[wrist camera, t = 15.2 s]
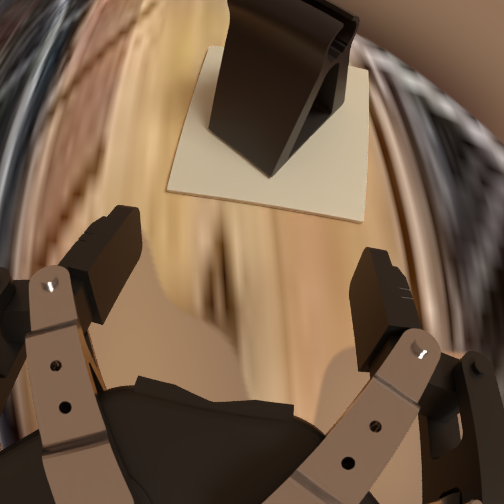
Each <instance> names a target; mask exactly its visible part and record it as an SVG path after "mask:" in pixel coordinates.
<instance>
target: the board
mask: <svg viewBox="0 0 504 504" xmlns="http://www.w3.org/2000/svg"><path fill="white" fill-rule="evenodd" d="M223 51H224V46H209V49H208V52H207V55H206V58H205V60H204V63H203V66H202V69H201V72H200V75H199V78H198V81H197V84H196V87H195V90H194V93H193V97H192V100H191V103H190V106H189V110H188V113H187V116H186V120H185V123H184V126H183V130H182V133H181V137H180V140H179V144H178V148H177V151H176V155H175V159H174V163H173V166H172V170H171V174H170V178H169V182H168V186H167V191H168V192H169V193H177V194H184V195H192V196H199V197H206V198H213V199H220V200H226V201H233V202H240V203H246V204H252V205H259V206H265V207H271V208H277V209H283V210H289V211H295V212H300V213H306V214H312V215H317V216H323V217H328V218H333V219H339V220H344V221H349V222H354V223H360V224H361V223H363V222H364V212H365V199H366V184H367V165H368V136H369V81H368V70H364V69H360V68H356V67H352V66H348V74H347V83H346V92H345V101H344V103H343V104H342V106H341V107H340V108H339V109H338V110H337V111H336V112H335V113H334V114H333V115H332V116H331V117H330V118H329V119H328V120H327V121H326V122H325V123H324V124H323V125H322V126H321V127H320V128H319V129H318V130H317V131H316V132H315V133H314V134H313V135H312V136H311V137H310V138H309V139H308V140H307V141H306V142H305V143H304V144H303V146H302V147H301V148H300V149H299V150H298V151H297V152H296V153H295V154H294V155H293V156H292V157H291V158H290V159H289V160H288V161H287V162H286V163H285V164H284V165H283V166H282V167H281V168H280V170H279V171H278V172H277V173H276V174H275V175H274V176H273V177H270V176H268V175H267V174H266V173H265V172H263V171H262V170H261V169H260V168H258V167H257V166H256V165H255V164H253V163H252V162H251V161H250V160H248V159H247V158H246V157H244V156H243V155H242V154H241V153H239V152H238V151H237V150H236V149H234V148H233V147H232V146H230V145H229V144H228V143H226V142H225V141H224V140H223V139H221V138H220V137H219V136H217V135H216V134H215V133H213V132H212V131H211V130H209V129H208V127H209V122H210V116H211V111H212V105H213V100H214V95H215V90H216V85H217V80H218V75H219V70H220V65H221V61H222V56H223Z"/></svg>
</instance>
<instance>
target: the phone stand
mask: <svg viewBox="0 0 504 504" xmlns="http://www.w3.org/2000/svg"><path fill="white" fill-rule="evenodd" d="M227 3H228V7H229V11H230V24H229V29H228V33H227V38H226V42H225V47H224V51H223V56H222V61H221V65H220V70H219V75H218V80H217V85H216V90H215V95H214V100H213V105H212V111H211V116H210V122H209V127H208V129H209V130H211V131H212V132H213V133H215V134H216V135H217V136H219V137H220V138H221V139H223V140H224V141H225V142H226V143H228V144H229V145H230V146H232V147H233V148H234V149H236V150H237V151H238V152H239V153H241V154H242V155H243V156H244V157H246V158H247V159H248V160H250V161H251V162H252V163H253V164H255V165H256V166H257V167H258V168H260V169H261V170H262V171H263V172H265V173H266V174H267V175H268V176H270V177H273V176H274V175H275V174H276V173H277V172H278V171H279V170H280V168H281V167H282V166H283V165H284V164H285V163H286V162H287V161H288V160H289V159H290V158H291V157H292V156H293V155H294V154H295V153H296V152H297V151H298V150H299V149H300V148H301V147H302V146H303V144H304V143H305V142H306V141H307V140H308V139H309V138H310V137H311V136H312V135H313V134H314V133H315V132H316V131H317V130H318V129H319V128H320V127H321V126H322V125H323V124H324V123H325V122H326V121H327V120H328V119H329V118H330V117H331V116H332V115H333V114H334V113H335V112H336V111H337V110H338V109H339V108H340V107H341V106H342V104H343V103H344V101H345V92H346V83H347V74H348V64H349V54H350V48H351V44H352V41H353V39H354V36H355V34H356V32H357V29H358V27H359V21H360V20H359V17H357V16H356V15H354V14H353V13H351V12H349V11H347V10H346V9H344V8H342V7H340V6H339V5H337V4H335V3H333V2H331V1H329V0H227Z"/></svg>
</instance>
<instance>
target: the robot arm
mask: <svg viewBox="0 0 504 504" xmlns="http://www.w3.org/2000/svg"><path fill="white" fill-rule="evenodd" d="M141 251H142V234H141V222H140V211H139V209H138V208H137V207H131V206H124V205H117V206H116V207H115V208H114V209H113V210H112V212H111V213H110V214H109V215H108V216H107V217H105V216H103V217H101V218H100V219H98V220H96V221H95V222H93V223H92V224H91V225H90V226H89V227H88V228H87V230H86V231H85V232H84V234H82V235H81V237H80V238H79V240H78V241H77V242H76V243H75V244H74V245H73V246H72V248H71V249H70V250H69V251H68V253H67V254H66V255H65V256H64V258H63V259H62V260H61V262H60V263H59V264H58V265H53V266H47V267H44V268H42V269H40V270H39V271H37V272H36V273H35V274H34V275H33V276H32V278H31V279H30V280H12V277H11V275H10V273H9V271H8V270H7V269H6V268H3V267H0V416H1V413H2V411H3V409H4V406H5V404H6V401H7V399H8V397H9V394H10V392H11V390H12V388H13V385H14V383H15V381H16V379H17V377H18V374H19V372H20V370H21V368H22V366H23V364H24V362H25V360H26V358H27V362H28V370H29V377H30V384H31V390H32V396H33V402H34V407H35V412H36V417H37V422H38V427H39V429H38V430H36V431H34V432H33V433H31V434H29V435H28V436H26V437H24V438H22V439H21V440H19V441H17V442H16V443H14V444H12V445H10V446H9V447H7V448H5V449H3V450H1V444H0V450H1V451H0V504H379V503H378V501H377V500H376V499H375V498H374V497H373V495H372V494H371V493H370V492H369V490H370V488H371V487H372V485H373V484H374V482H375V481H376V480H377V478H378V477H379V476H380V474H381V473H382V471H383V470H384V468H385V467H386V465H387V464H388V462H389V461H390V459H391V457H392V456H393V455H394V453H395V452H396V450H397V448H398V447H399V445H400V443H401V442H402V440H403V439H404V437H405V435H406V433H407V432H408V430H409V428H410V427H411V425H412V423H413V421H414V420H415V418H416V416H417V414H418V419H419V430H420V442H421V460H422V498H423V499H422V500H423V501H422V504H504V408H503V404H502V400H501V396H500V392H499V388H498V384H497V381H496V377H495V373H494V370H493V367H492V365H491V363H490V362H489V360H488V359H487V358H486V357H485V356H484V355H482V354H481V353H479V352H475V351H469V352H467V353H466V354H465V355H464V356H463V357H462V358H461V359H460V360H459V359H457V358H454V357H452V356H449V355H447V354H444V353H442V352H441V350H440V347H439V344H438V343H437V341H436V340H435V338H434V337H433V336H432V335H430V334H429V333H428V332H426V331H424V330H422V327H421V323H420V320H419V317H418V313H417V310H416V307H415V304H414V301H413V300H412V295H411V292H410V291H409V286H408V283H407V280H406V277H405V276H404V275H403V273H402V272H401V271H400V270H399V268H398V267H395V266H392V264H391V261H390V258H389V255H388V252H387V251H386V250H380V249H375V248H370V247H366V248H365V249H364V251H363V253H362V255H361V258H360V260H359V263H358V265H357V268H356V270H355V272H354V275H353V277H352V280H351V283H350V288H349V300H350V307H351V314H352V321H353V329H354V337H355V346H356V355H357V364H358V371H359V372H370V380H369V381H368V382H367V384H366V385H365V386H364V388H363V389H362V390H361V392H360V393H359V394H358V396H357V397H356V398H355V399H354V401H353V402H352V403H351V404H350V406H349V407H348V408H347V409H346V411H345V412H344V413H343V414H342V415H341V417H340V418H339V419H338V420H337V421H336V423H335V424H334V425H333V426H332V427H331V428H330V430H329V431H328V432H327V433H326V434H323V432H321V431H320V430H319V429H318V428H316V427H315V426H314V425H312V424H311V423H309V422H307V421H305V420H303V419H301V418H299V417H297V416H294V415H293V413H294V405H291V404H282V403H274V402H267V401H259V400H247V401H232V402H211V401H208V400H206V399H204V398H202V397H199V396H197V395H195V394H193V393H191V392H189V391H187V390H185V389H182V388H180V387H178V386H176V385H174V384H170V383H165V382H161V381H157V380H153V379H149V378H146V377H142V376H138V378H137V380H136V383H135V386H134V385H133V386H132V385H131V386H120V387H115V388H111V389H108V390H107V389H106V386H105V384H104V381H103V379H102V376H101V373H100V369H99V366H98V363H97V359H96V356H95V352H94V349H93V345H92V341H91V338H90V334H89V331H88V327H89V326H90V324H91V322H94V323H98V324H101V325H103V324H104V322H105V320H106V318H107V316H108V314H109V312H110V311H111V309H112V307H113V305H114V303H115V301H116V299H117V298H118V296H119V294H120V292H121V290H122V288H123V287H124V285H125V283H126V281H127V279H128V278H129V276H130V274H131V272H132V271H133V269H134V267H135V265H136V264H137V262H138V260H139V258H140V255H141ZM458 413H460V416H461V422H462V428H463V437H462V440H461V439H460V431H459V424H458V417H457V414H458Z"/></svg>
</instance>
